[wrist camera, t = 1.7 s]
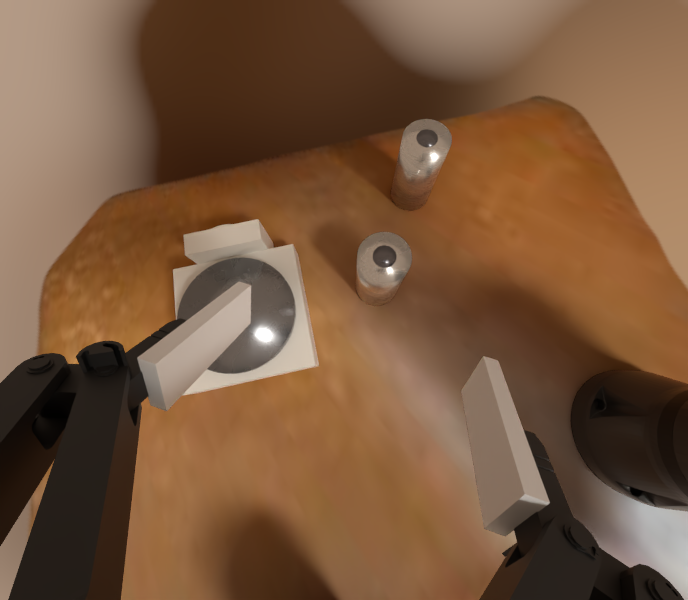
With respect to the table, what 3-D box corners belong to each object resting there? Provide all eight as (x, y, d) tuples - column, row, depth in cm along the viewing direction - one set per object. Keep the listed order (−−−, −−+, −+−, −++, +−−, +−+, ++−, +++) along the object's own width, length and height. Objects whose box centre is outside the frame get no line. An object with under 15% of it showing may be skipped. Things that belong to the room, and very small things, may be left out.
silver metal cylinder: (390, 263, 41) (403, 226, 31) (400, 301, 40) (418, 275, 29) (351, 272, 41) (351, 237, 31) (361, 309, 40) (364, 287, 29)
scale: (294, 235, 43) (283, 210, 36) (319, 365, 38) (311, 365, 31) (187, 257, 43) (156, 236, 36) (198, 392, 38) (164, 397, 31)
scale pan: (286, 250, 38) (284, 247, 37) (305, 358, 34) (304, 358, 33) (178, 273, 37) (173, 270, 36) (185, 385, 34) (180, 386, 33)
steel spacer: (421, 175, 45) (443, 114, 34) (432, 206, 44) (458, 152, 33) (386, 182, 45) (397, 123, 34) (396, 214, 43) (410, 162, 33)
